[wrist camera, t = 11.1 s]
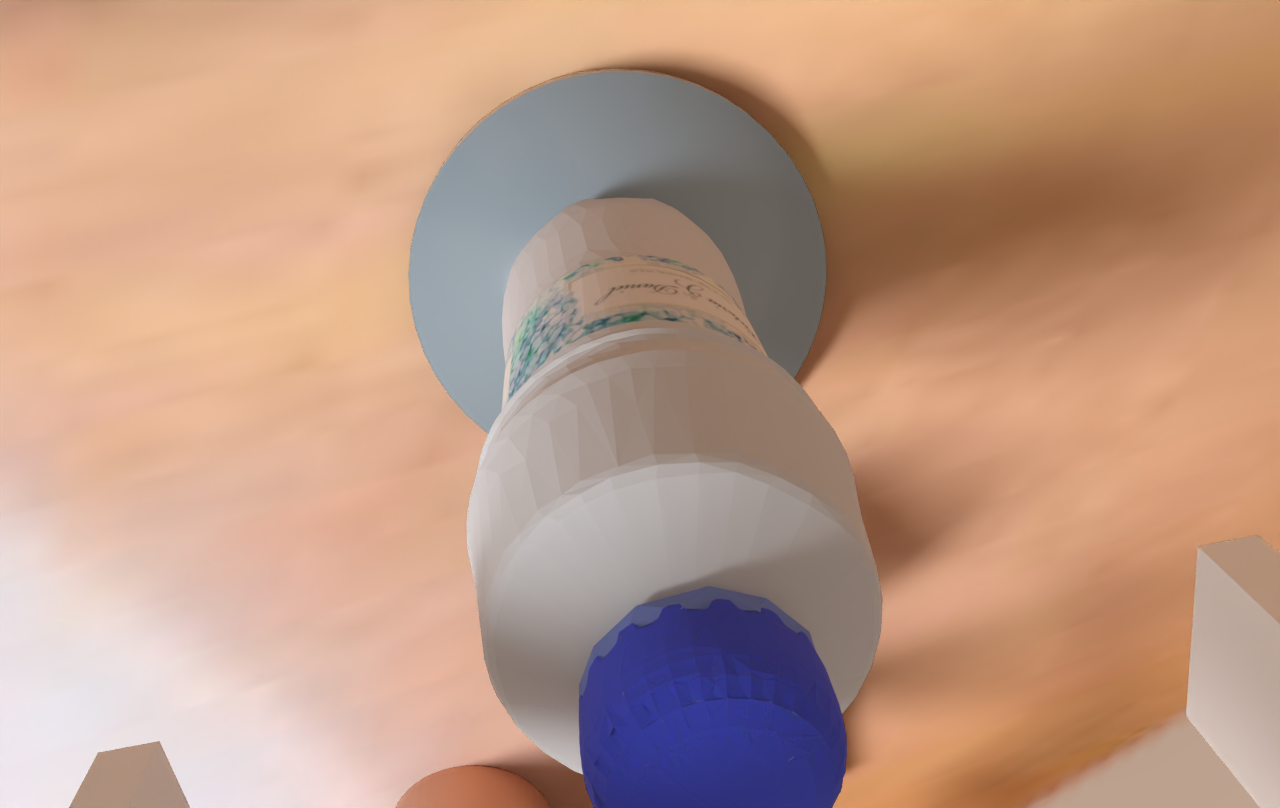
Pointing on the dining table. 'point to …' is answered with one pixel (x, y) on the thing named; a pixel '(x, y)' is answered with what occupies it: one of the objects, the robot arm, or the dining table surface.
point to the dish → (598, 169)
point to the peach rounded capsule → (472, 790)
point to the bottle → (665, 529)
